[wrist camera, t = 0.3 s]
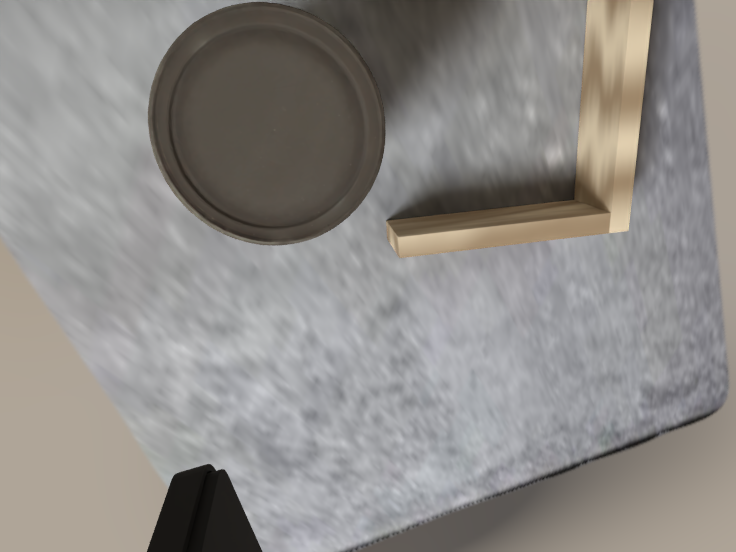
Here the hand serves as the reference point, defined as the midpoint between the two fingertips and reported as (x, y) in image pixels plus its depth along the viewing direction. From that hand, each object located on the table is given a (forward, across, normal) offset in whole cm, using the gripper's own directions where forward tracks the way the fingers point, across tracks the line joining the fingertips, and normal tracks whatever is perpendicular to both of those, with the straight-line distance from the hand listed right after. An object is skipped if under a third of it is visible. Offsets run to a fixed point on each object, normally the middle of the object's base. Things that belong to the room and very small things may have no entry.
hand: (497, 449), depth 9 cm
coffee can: (+30, +3, -6) cm, 31 cm away
